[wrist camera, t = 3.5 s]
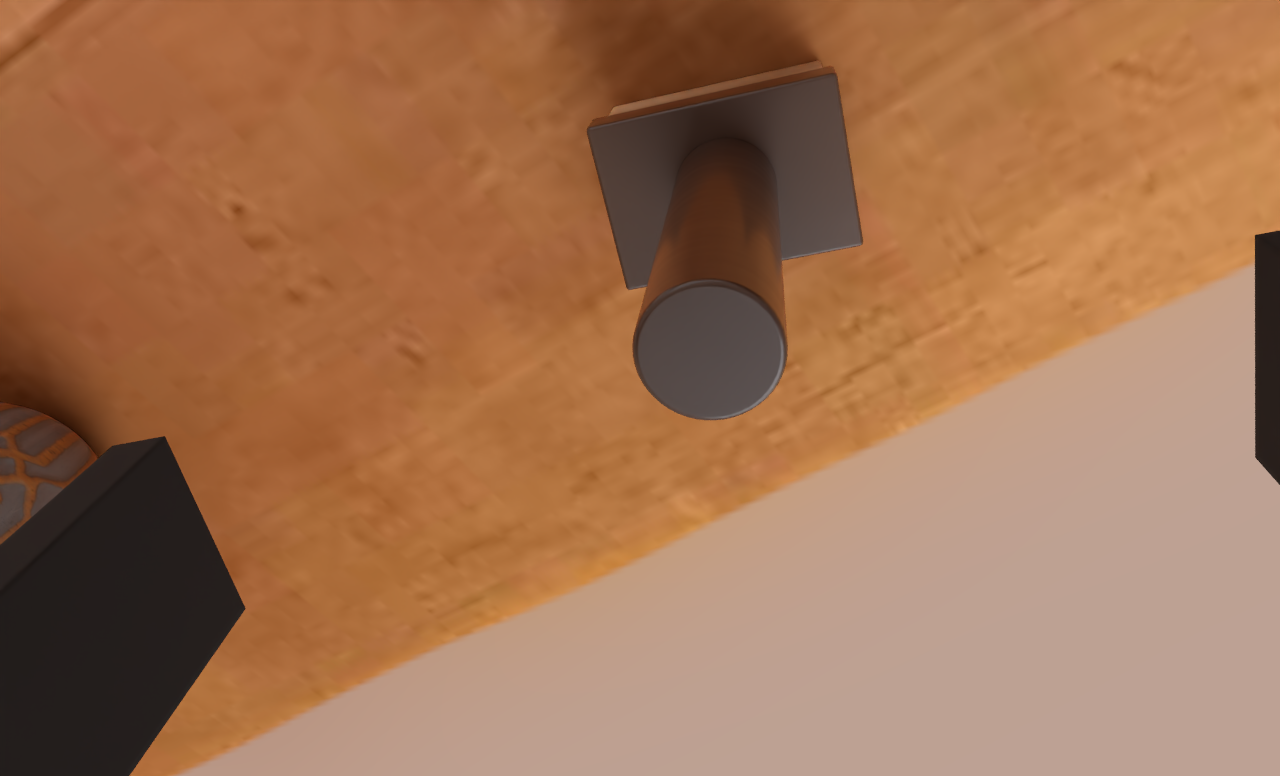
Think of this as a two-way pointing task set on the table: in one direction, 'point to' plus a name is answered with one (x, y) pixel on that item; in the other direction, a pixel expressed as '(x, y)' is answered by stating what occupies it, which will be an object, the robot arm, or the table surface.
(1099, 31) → the table surface
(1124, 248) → the table surface
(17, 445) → the vase
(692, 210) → the brush
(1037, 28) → the table surface
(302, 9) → the table surface
